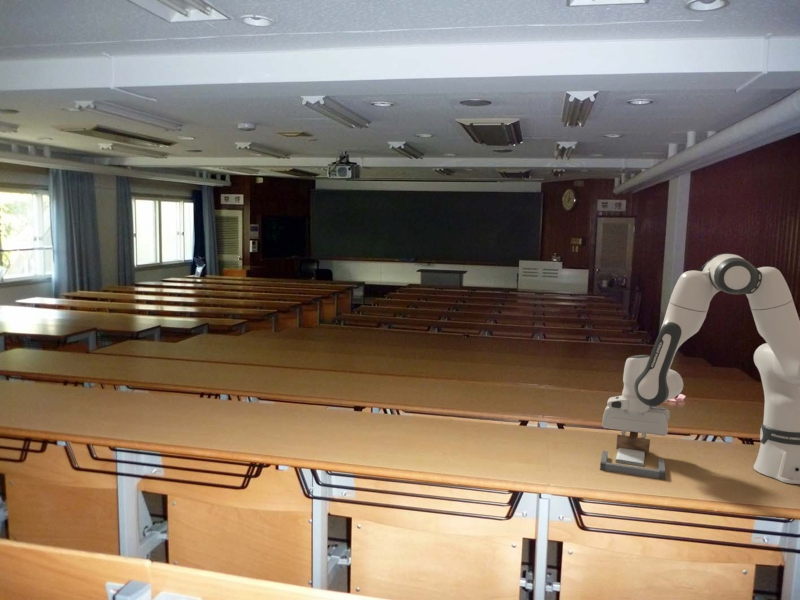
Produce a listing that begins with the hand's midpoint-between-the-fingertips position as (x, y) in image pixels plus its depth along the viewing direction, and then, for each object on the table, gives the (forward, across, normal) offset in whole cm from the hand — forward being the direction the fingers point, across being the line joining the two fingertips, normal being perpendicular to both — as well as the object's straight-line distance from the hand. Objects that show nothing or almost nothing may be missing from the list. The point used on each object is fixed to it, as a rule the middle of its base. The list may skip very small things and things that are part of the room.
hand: (632, 444), depth 203 cm
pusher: (+1, 0, -2) cm, 2 cm away
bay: (+2, 0, +16) cm, 17 cm away
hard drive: (+3, 0, +8) cm, 9 cm away
